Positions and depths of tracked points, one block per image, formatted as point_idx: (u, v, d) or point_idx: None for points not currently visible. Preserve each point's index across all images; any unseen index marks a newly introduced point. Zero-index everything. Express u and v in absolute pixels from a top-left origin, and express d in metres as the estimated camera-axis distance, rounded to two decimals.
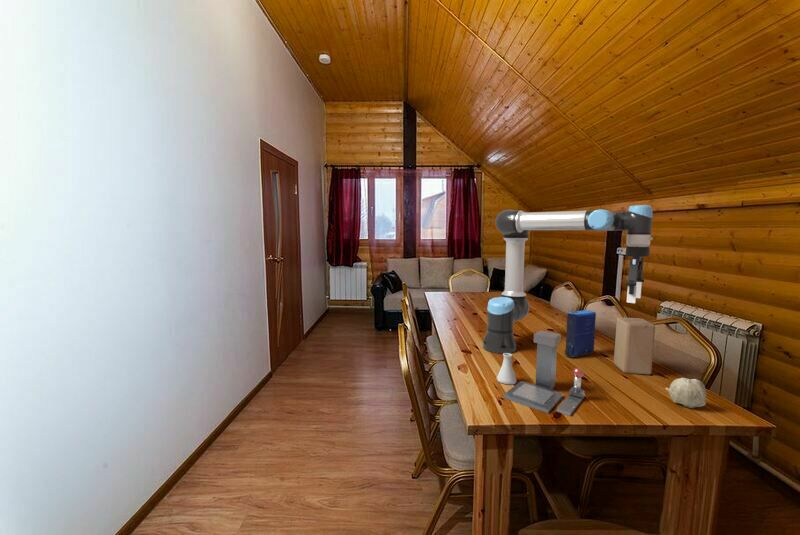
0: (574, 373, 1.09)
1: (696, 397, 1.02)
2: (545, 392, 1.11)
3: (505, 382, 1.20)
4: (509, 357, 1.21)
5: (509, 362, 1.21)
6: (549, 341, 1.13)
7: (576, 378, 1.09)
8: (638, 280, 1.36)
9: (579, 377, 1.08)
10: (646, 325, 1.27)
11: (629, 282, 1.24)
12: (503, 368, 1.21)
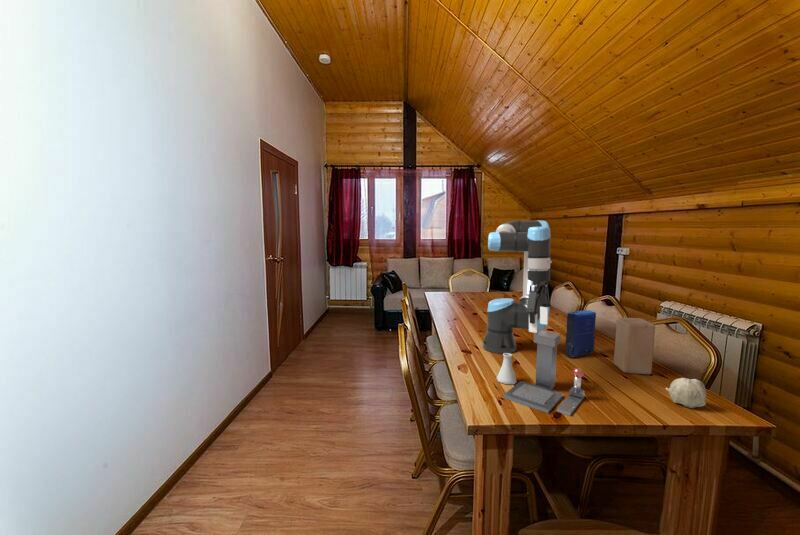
0: (574, 373, 1.09)
1: (696, 397, 1.02)
2: (545, 392, 1.11)
3: (505, 382, 1.20)
4: (509, 357, 1.21)
5: (509, 362, 1.21)
6: (549, 341, 1.13)
7: (576, 378, 1.09)
8: (544, 305, 1.28)
9: (579, 377, 1.08)
10: (646, 325, 1.27)
11: (528, 311, 1.15)
12: (503, 368, 1.21)
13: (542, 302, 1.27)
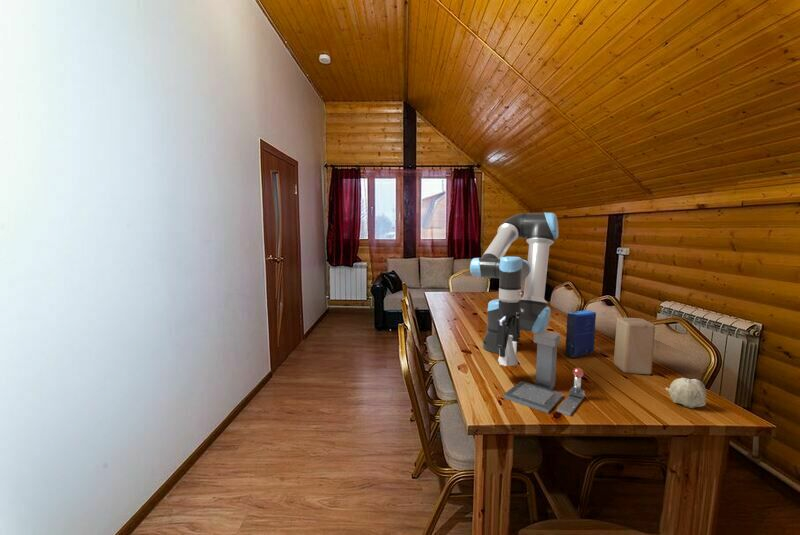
0: (574, 373, 1.09)
1: (696, 397, 1.02)
2: (545, 392, 1.11)
3: None
4: (510, 338, 1.20)
5: (510, 343, 1.21)
6: (549, 341, 1.13)
7: (576, 378, 1.09)
8: (514, 339, 1.25)
9: (579, 377, 1.08)
10: (646, 325, 1.27)
11: (498, 345, 1.17)
12: None
13: None
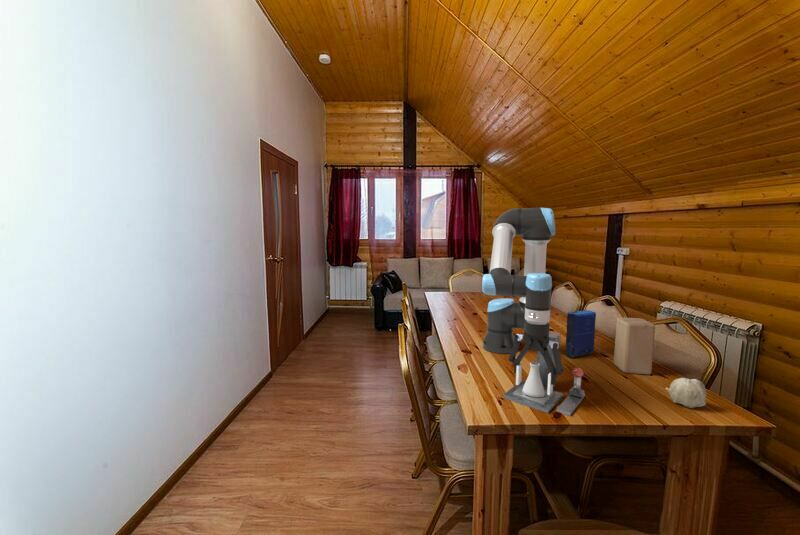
0: (574, 373, 1.09)
1: (696, 397, 1.02)
2: (545, 392, 1.11)
3: None
4: (531, 365, 1.09)
5: (530, 371, 1.09)
6: None
7: (576, 378, 1.09)
8: None
9: (579, 377, 1.08)
10: (646, 325, 1.27)
11: None
12: None
13: None
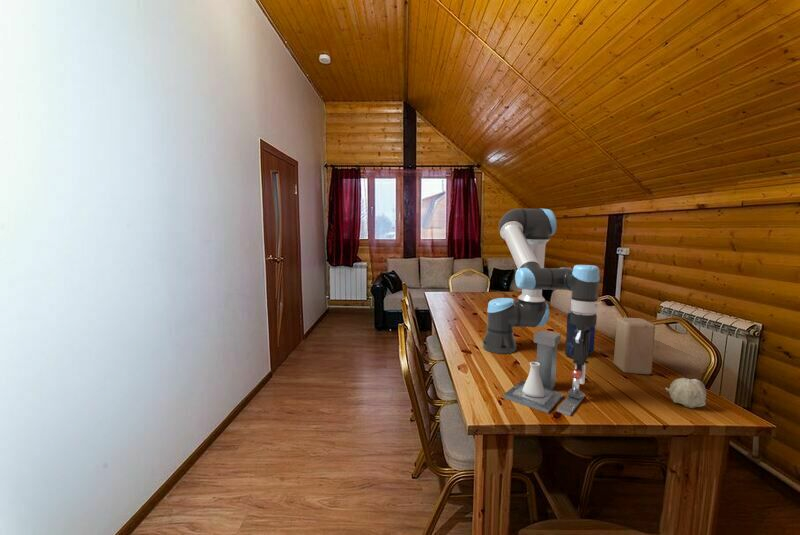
0: (573, 374, 1.08)
1: (696, 397, 1.02)
2: (545, 392, 1.11)
3: None
4: (531, 365, 1.09)
5: (530, 371, 1.09)
6: (549, 341, 1.13)
7: (575, 379, 1.08)
8: None
9: (578, 378, 1.07)
10: (646, 325, 1.27)
11: (576, 361, 1.08)
12: None
13: None
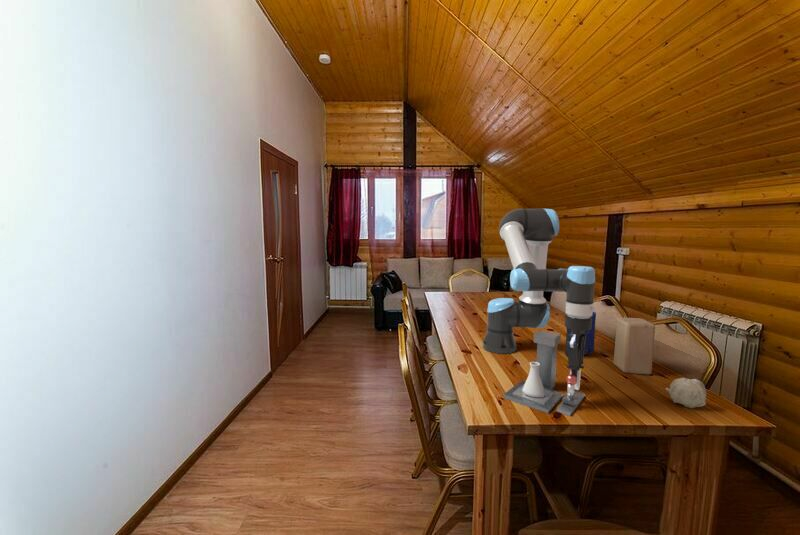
0: (567, 380, 1.04)
1: (696, 397, 1.02)
2: (545, 392, 1.11)
3: None
4: (531, 365, 1.09)
5: (530, 371, 1.09)
6: (549, 341, 1.13)
7: (569, 385, 1.04)
8: None
9: (572, 384, 1.03)
10: (646, 325, 1.27)
11: (570, 366, 1.04)
12: None
13: None
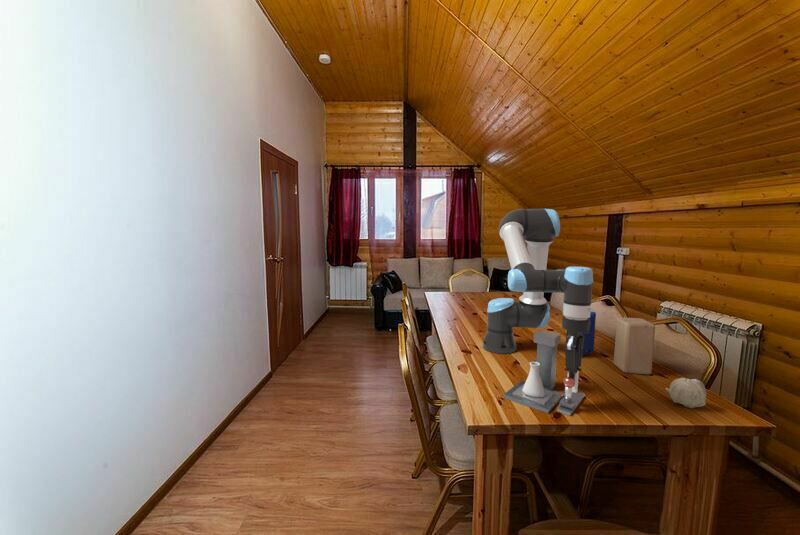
0: (565, 383, 1.02)
1: (696, 397, 1.02)
2: (545, 392, 1.11)
3: None
4: (531, 365, 1.09)
5: (530, 371, 1.09)
6: (549, 341, 1.13)
7: (567, 388, 1.02)
8: None
9: (570, 387, 1.01)
10: (646, 325, 1.27)
11: (568, 369, 1.02)
12: None
13: None
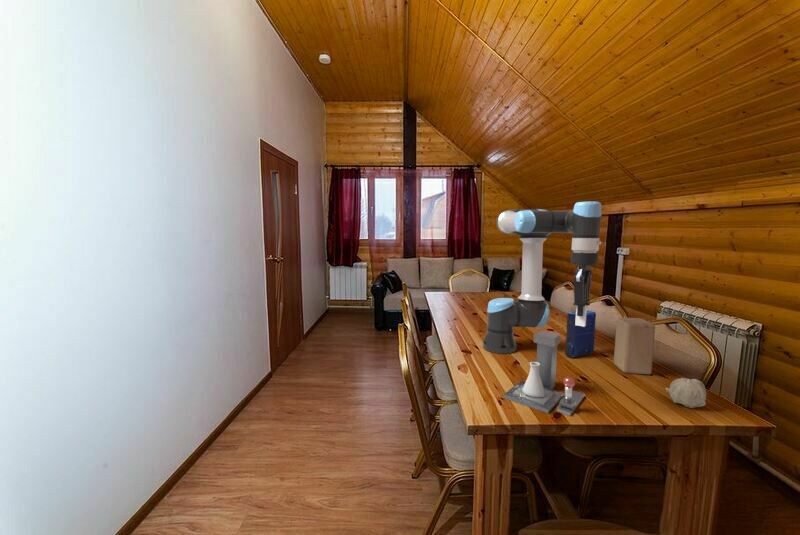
0: (565, 383, 1.02)
1: (696, 397, 1.02)
2: (545, 392, 1.11)
3: None
4: (531, 365, 1.09)
5: (530, 371, 1.09)
6: (549, 341, 1.13)
7: (567, 388, 1.02)
8: None
9: (570, 387, 1.01)
10: (646, 325, 1.27)
11: (576, 302, 1.04)
12: None
13: None
